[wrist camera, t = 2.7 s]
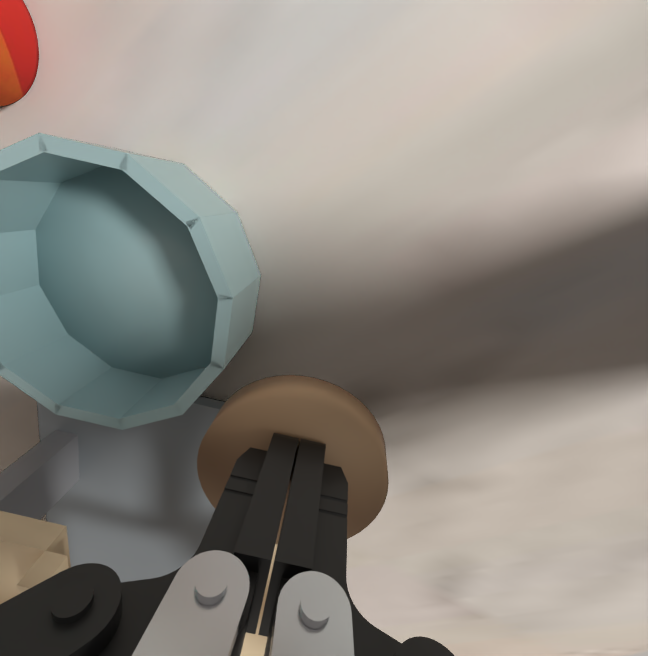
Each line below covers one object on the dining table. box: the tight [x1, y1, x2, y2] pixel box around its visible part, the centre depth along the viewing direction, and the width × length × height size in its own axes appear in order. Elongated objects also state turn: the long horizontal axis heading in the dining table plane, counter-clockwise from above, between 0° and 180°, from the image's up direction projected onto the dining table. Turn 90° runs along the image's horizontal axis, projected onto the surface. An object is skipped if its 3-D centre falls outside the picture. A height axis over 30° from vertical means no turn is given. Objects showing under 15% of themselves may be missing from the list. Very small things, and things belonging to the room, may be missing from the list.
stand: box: [0, 396, 225, 582], centre depth 20 cm, size 17×20×10 cm
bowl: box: [0, 133, 261, 430], centre depth 17 cm, size 12×12×5 cm
